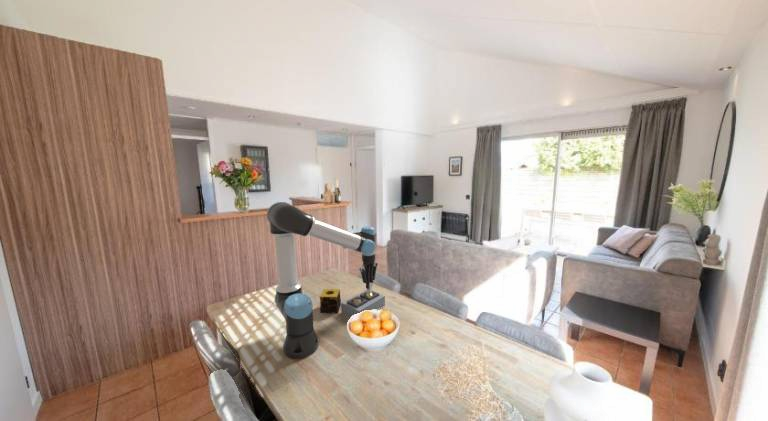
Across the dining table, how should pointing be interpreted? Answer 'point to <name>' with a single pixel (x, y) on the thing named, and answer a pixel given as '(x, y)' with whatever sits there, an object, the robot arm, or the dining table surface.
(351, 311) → the socket block
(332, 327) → the dining table surface
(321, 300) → the candle
